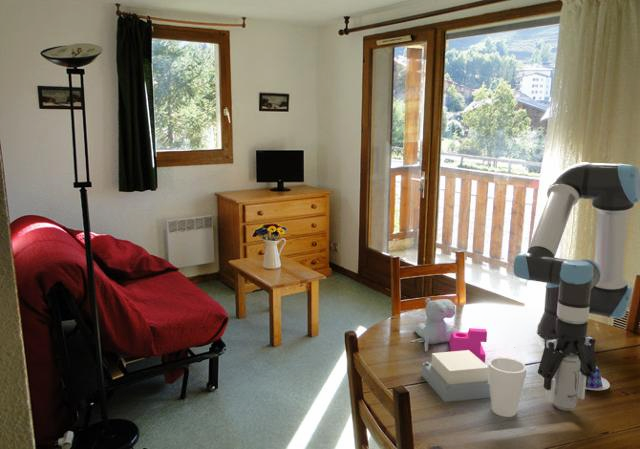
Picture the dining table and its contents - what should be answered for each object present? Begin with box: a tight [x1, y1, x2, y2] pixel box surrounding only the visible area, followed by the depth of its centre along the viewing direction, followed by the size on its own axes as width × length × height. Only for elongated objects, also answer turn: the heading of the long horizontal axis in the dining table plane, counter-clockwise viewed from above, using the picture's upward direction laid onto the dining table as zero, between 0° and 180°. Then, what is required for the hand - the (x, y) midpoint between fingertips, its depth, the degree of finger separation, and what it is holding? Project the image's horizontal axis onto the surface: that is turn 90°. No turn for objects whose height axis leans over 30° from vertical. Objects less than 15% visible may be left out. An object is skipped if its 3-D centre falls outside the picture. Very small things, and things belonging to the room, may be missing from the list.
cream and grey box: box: [421, 350, 491, 403], centre depth 151 cm, size 16×16×8 cm
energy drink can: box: [552, 351, 581, 412], centre depth 139 cm, size 6×6×15 cm
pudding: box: [580, 365, 611, 391], centre depth 154 cm, size 12×12×5 cm
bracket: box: [448, 327, 488, 363], centre depth 173 cm, size 12×10×10 cm
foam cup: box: [487, 356, 527, 418], centre depth 137 cm, size 10×9×13 cm
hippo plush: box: [410, 297, 459, 352], centre depth 184 cm, size 15×19×15 cm
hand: (564, 398), depth 140 cm, fingers open, 9 cm apart
